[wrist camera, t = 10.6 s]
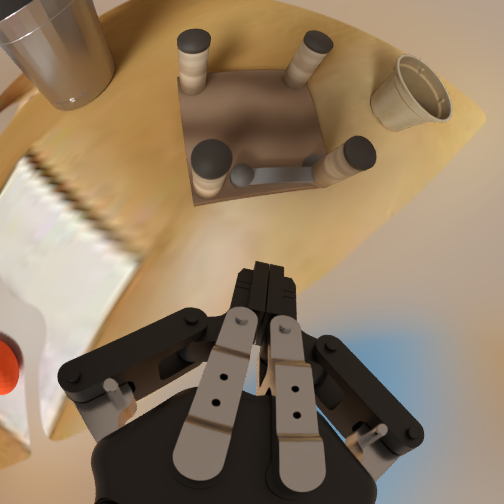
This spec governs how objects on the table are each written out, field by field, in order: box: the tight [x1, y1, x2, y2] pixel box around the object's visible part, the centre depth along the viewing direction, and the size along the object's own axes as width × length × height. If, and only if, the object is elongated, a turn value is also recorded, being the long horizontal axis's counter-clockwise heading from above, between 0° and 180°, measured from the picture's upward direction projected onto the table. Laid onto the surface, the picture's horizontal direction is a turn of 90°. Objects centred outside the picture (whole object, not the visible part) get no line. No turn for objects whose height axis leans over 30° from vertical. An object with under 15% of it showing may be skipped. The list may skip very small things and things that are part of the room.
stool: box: [177, 29, 333, 206], centre depth 22 cm, size 14×14×10 cm
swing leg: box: [230, 136, 376, 189], centre depth 21 cm, size 10×3×8 cm, turn 96°
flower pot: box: [371, 54, 453, 131], centre depth 26 cm, size 9×9×9 cm
